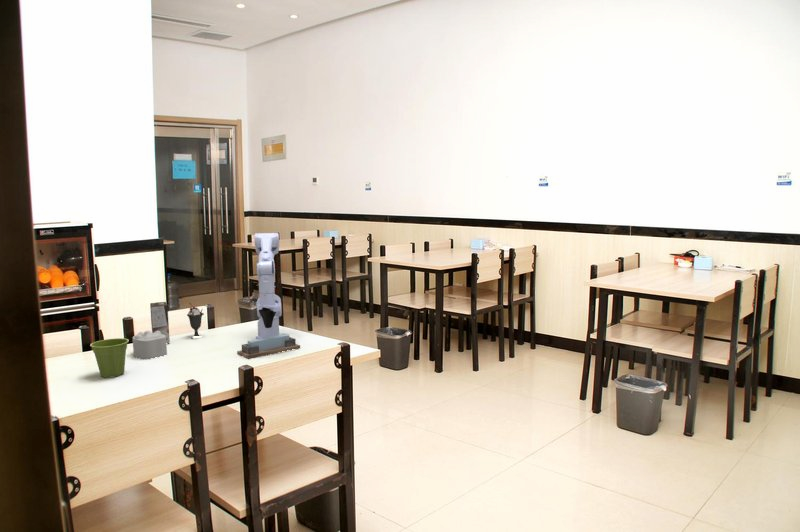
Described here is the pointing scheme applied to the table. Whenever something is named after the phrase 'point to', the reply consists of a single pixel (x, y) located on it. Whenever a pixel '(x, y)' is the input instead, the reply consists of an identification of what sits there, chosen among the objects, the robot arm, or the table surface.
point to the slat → (269, 342)
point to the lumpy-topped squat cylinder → (149, 345)
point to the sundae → (195, 318)
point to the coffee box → (160, 318)
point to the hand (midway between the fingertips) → (268, 327)
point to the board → (254, 351)
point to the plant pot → (110, 356)
